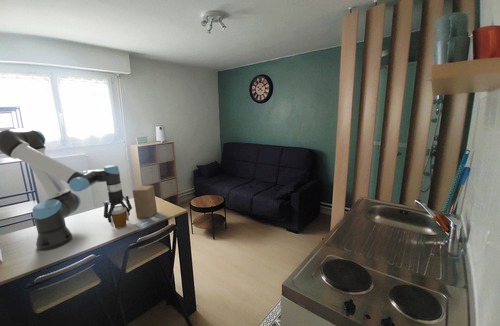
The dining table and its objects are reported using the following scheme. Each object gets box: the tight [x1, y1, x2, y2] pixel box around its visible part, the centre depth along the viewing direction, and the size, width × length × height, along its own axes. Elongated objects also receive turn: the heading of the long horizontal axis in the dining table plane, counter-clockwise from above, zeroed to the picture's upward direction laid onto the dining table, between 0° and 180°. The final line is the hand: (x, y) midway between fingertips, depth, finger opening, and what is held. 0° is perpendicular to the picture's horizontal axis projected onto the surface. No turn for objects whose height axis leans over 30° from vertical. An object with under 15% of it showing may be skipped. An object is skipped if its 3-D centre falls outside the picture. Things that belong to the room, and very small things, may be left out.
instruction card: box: [133, 213, 168, 230], centre depth 146 cm, size 18×10×1 cm, turn 145°
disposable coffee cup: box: [111, 205, 127, 229], centre depth 139 cm, size 10×10×12 cm
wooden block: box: [132, 185, 158, 219], centre depth 153 cm, size 10×10×20 cm
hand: (120, 223), depth 140 cm, fingers open, 9 cm apart
